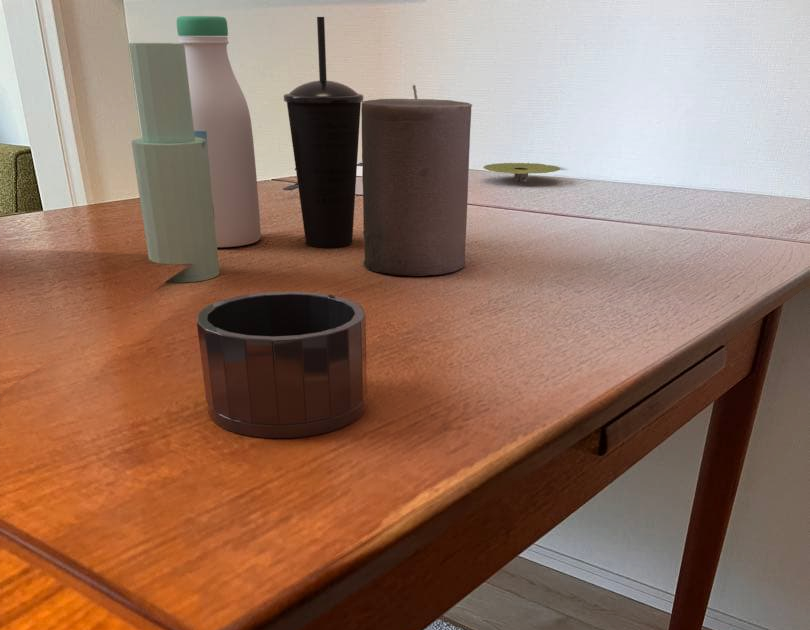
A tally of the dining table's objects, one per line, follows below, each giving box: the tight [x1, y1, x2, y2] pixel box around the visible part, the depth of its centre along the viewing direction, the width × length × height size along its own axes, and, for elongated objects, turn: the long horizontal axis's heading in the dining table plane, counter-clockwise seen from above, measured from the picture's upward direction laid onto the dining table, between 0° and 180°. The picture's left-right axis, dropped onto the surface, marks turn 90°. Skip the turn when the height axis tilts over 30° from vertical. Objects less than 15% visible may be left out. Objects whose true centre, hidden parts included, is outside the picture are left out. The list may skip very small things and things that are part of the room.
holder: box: [196, 291, 368, 439], centre depth 48 cm, size 9×9×6 cm
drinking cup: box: [283, 16, 365, 249], centre depth 82 cm, size 8×8×20 cm
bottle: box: [128, 42, 221, 284], centre depth 71 cm, size 6×6×18 cm
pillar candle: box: [360, 84, 473, 277], centre depth 76 cm, size 10×10×15 cm
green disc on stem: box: [482, 162, 561, 183], centre depth 124 cm, size 11×11×2 cm
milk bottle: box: [175, 15, 262, 248], centre depth 83 cm, size 8×8×20 cm
